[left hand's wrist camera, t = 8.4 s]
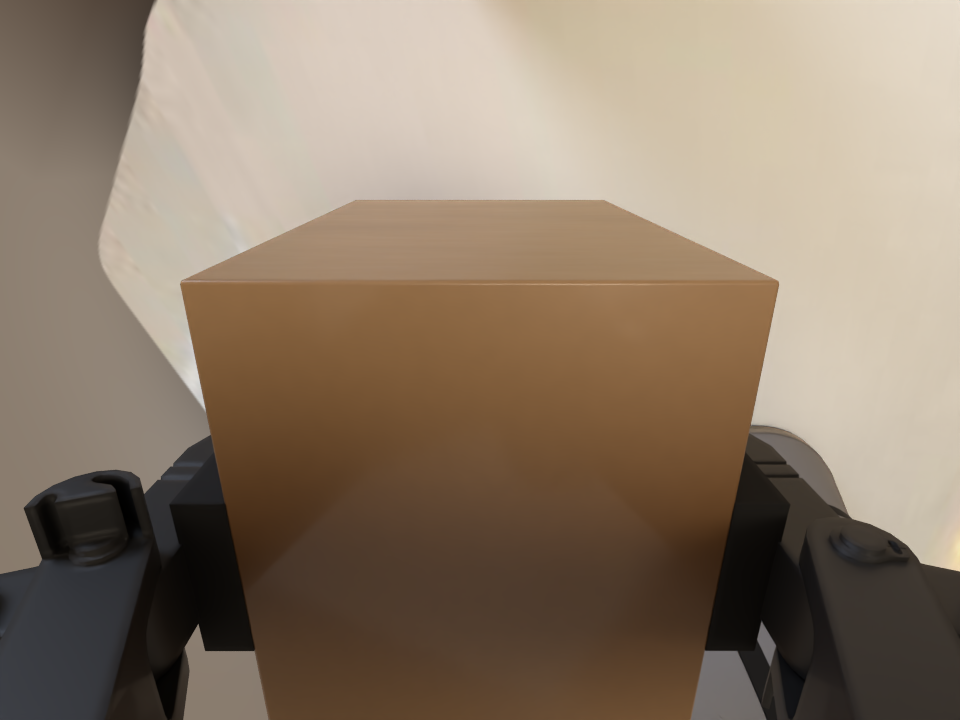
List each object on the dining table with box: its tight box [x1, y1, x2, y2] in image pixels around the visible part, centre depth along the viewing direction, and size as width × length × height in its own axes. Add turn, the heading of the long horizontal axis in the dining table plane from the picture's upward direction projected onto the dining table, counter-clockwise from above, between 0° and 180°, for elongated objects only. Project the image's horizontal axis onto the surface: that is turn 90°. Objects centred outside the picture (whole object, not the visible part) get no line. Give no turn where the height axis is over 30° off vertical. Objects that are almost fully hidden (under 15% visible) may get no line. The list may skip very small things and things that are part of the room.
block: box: [180, 200, 779, 720], centre depth 12 cm, size 9×7×10 cm
